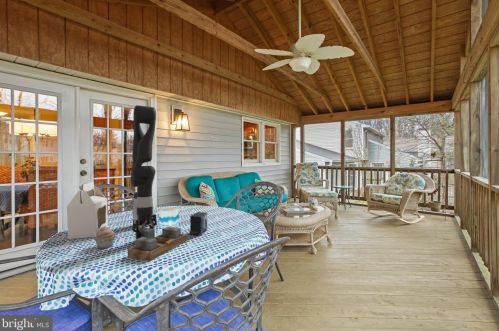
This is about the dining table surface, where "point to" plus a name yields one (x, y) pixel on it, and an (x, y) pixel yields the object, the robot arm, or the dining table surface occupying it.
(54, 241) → the dining table surface
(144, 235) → the block
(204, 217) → the small box
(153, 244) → the rack
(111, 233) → the cupcake
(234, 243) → the dining table surface
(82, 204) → the gable box
